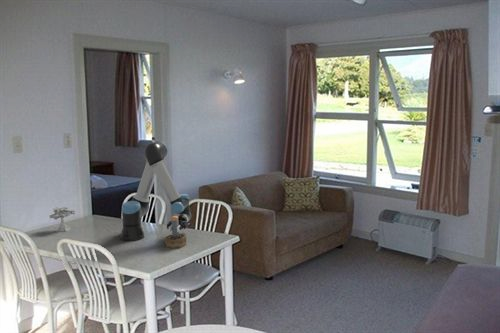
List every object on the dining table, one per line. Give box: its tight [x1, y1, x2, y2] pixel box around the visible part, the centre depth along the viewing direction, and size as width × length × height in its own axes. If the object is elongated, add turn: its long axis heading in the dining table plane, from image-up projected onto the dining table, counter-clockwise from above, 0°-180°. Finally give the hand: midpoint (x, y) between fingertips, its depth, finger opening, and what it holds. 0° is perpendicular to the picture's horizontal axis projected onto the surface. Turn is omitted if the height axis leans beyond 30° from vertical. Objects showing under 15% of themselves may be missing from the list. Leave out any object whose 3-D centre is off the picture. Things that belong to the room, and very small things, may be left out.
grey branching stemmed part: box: [48, 206, 76, 233], centre depth 338 cm, size 18×16×17 cm
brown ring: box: [164, 234, 187, 249], centre depth 300 cm, size 12×12×5 cm
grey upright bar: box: [171, 215, 180, 238], centre depth 300 cm, size 4×4×18 cm
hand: (173, 229), depth 294 cm, fingers open, 4 cm apart
